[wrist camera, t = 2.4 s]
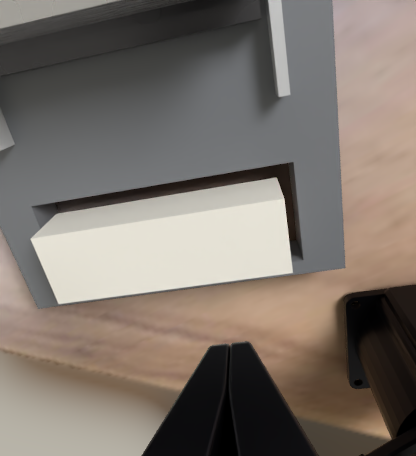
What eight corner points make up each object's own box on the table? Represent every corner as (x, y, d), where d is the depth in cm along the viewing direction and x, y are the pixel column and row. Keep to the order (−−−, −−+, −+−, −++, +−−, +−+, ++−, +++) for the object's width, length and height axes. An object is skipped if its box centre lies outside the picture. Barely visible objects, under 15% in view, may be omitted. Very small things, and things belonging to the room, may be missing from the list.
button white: (284, 243, 17) (292, 273, 15) (79, 273, 19) (58, 304, 16) (276, 177, 16) (284, 198, 14) (56, 213, 17) (30, 238, 15)
